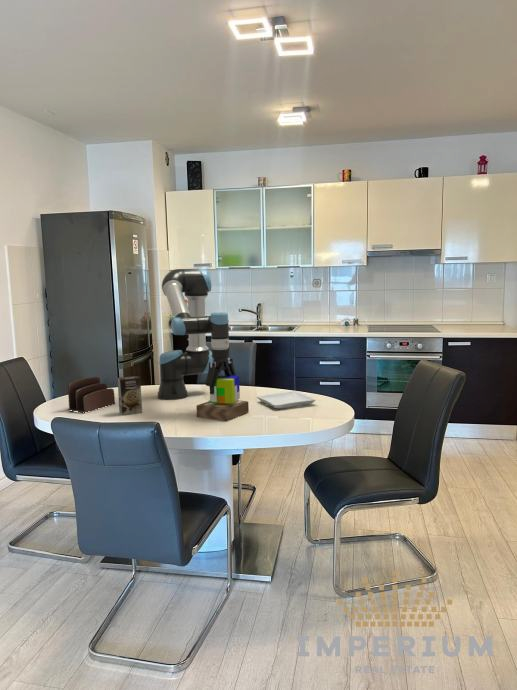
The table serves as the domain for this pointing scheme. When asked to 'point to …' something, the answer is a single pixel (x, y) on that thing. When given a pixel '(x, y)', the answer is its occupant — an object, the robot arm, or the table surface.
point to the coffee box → (129, 395)
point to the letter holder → (89, 395)
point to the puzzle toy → (227, 389)
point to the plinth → (222, 410)
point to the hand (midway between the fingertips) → (222, 398)
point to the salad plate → (286, 399)
